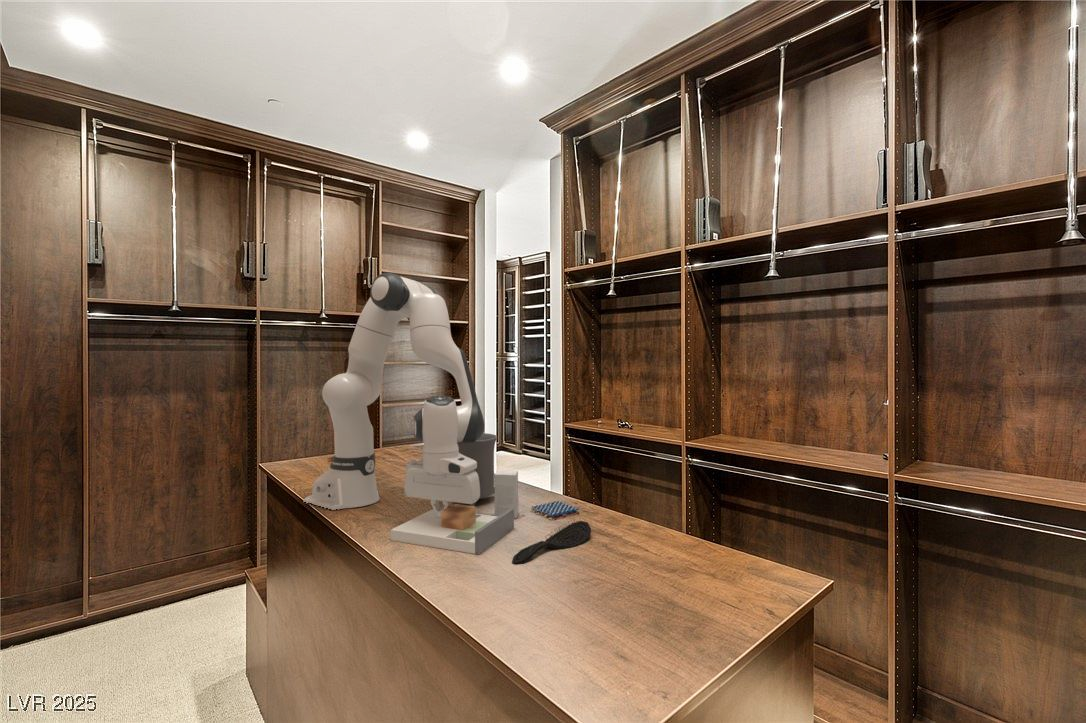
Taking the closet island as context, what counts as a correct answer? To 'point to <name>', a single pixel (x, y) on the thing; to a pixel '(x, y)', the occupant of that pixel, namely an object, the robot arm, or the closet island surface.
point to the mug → (482, 461)
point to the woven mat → (555, 510)
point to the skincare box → (506, 492)
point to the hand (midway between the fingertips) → (441, 517)
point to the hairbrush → (557, 541)
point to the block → (458, 516)
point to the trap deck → (455, 532)
